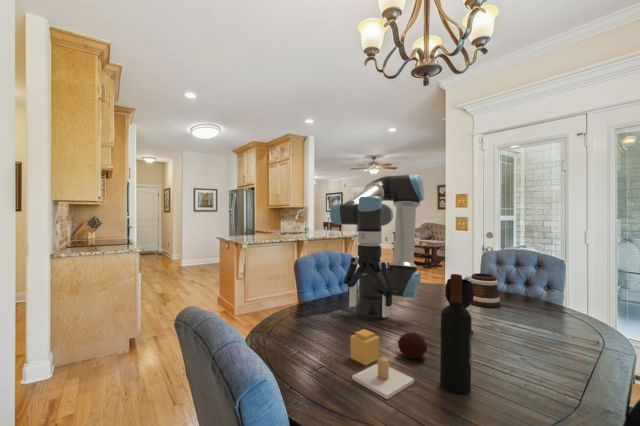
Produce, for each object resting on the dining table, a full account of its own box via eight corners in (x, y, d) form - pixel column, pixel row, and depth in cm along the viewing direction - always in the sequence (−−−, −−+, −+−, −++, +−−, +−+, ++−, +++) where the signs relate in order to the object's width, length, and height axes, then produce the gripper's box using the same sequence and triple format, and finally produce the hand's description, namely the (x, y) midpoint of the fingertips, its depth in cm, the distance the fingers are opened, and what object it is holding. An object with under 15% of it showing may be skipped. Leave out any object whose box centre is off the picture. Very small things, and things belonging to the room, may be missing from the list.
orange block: (350, 357, 98) (350, 332, 98) (363, 352, 102) (364, 327, 102) (365, 365, 93) (365, 338, 93) (379, 359, 97) (379, 333, 97)
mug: (506, 305, 157) (506, 276, 157) (487, 309, 150) (488, 279, 150) (471, 296, 174) (471, 270, 174) (453, 299, 167) (453, 272, 167)
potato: (395, 351, 103) (395, 328, 103) (423, 351, 103) (423, 328, 103) (401, 362, 95) (401, 337, 95) (431, 363, 95) (431, 338, 95)
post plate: (352, 379, 85) (352, 357, 85) (379, 365, 93) (379, 346, 93) (387, 399, 76) (387, 375, 76) (414, 382, 84) (414, 360, 84)
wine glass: (476, 337, 116) (477, 284, 116) (447, 334, 118) (448, 282, 118) (469, 327, 126) (469, 278, 126) (442, 325, 128) (442, 277, 128)
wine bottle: (435, 379, 86) (436, 272, 86) (460, 378, 86) (462, 272, 86) (448, 395, 78) (449, 278, 78) (476, 394, 79) (478, 277, 79)
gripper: (333, 242, 105) (333, 304, 105) (395, 248, 86) (394, 324, 86) (348, 241, 110) (348, 300, 110) (410, 247, 91) (409, 318, 91)
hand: (368, 311), depth 98 cm, fingers open, 13 cm apart
